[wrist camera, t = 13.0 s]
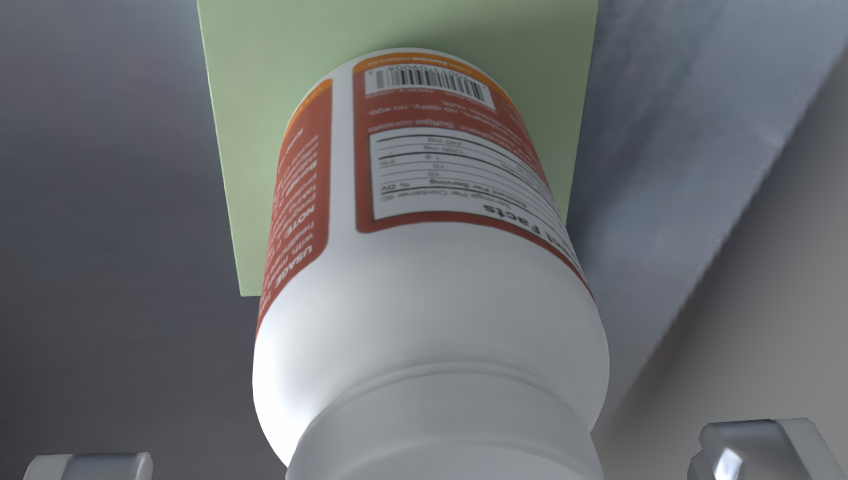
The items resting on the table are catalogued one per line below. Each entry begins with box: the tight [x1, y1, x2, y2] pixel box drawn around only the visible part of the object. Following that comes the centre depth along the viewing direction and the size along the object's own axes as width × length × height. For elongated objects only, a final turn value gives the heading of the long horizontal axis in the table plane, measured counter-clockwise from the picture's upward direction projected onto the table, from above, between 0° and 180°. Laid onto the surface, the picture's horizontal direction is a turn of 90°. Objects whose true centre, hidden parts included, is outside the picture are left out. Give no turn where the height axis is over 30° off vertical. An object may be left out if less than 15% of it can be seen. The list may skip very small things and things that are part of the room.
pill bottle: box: [253, 47, 610, 480], centre depth 16 cm, size 6×6×11 cm
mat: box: [196, 0, 600, 296], centre depth 20 cm, size 9×9×1 cm
